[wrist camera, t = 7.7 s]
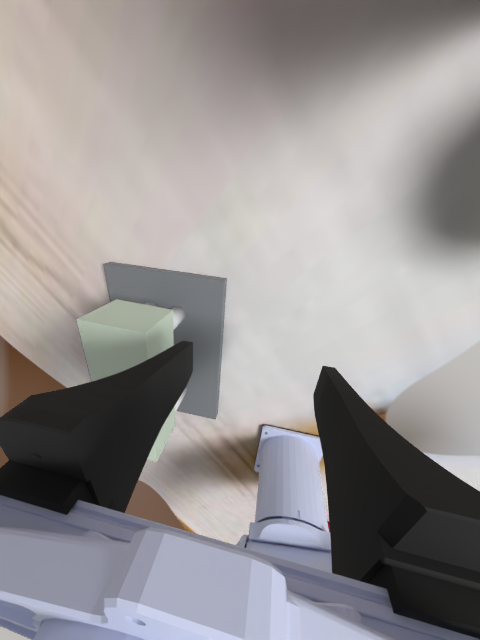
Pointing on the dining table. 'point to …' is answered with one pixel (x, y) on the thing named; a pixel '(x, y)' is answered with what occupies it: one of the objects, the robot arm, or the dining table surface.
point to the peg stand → (182, 322)
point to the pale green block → (127, 345)
